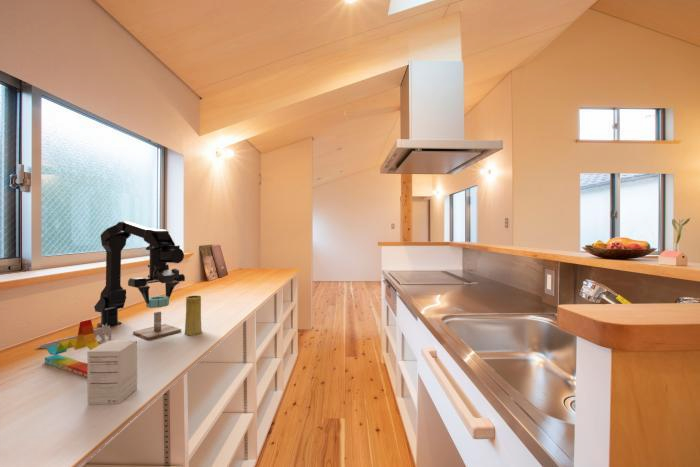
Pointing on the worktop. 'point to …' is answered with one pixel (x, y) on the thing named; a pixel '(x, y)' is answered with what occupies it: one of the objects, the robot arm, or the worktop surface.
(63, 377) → the worktop surface
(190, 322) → the vase
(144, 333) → the post stand
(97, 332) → the caliper
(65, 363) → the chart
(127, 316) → the worktop surface
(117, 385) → the supplement box
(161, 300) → the ring
